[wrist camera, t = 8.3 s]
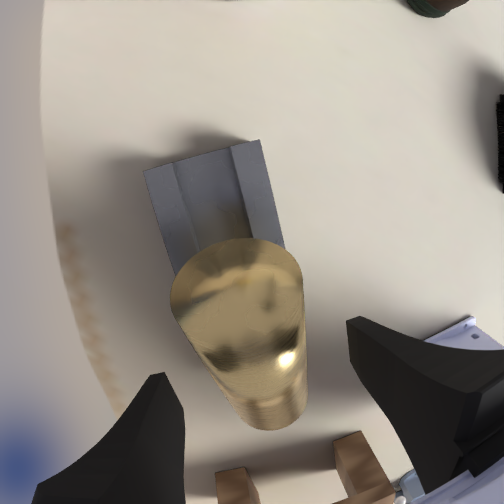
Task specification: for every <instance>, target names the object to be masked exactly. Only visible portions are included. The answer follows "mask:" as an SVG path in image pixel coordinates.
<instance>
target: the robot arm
mask: <svg viewBox="0 0 504 504" xmlns="http://www.w3.org/2000/svg"><path fill="white" fill-rule="evenodd" d="M475 322H476V318H475V317H473V316H471V317H469V318H467V319H465V320H464V321H462V322H460V323H458V324H456V325H454V326H452V327H450V328H448V329H446V330H444V331H442V332H440V333H438V334H436V335H434V336H432V337H430V338H428V339H426V340H424V341H422V340H419V339H416V338H413V337H410V336H407V335H404V334H401V333H399V332H396V331H394V330H392V329H389V328H387V327H384V326H382V325H380V324H378V323H375V322H373V321H371V320H369V319H366V318H364V317H361V316H358V317H356V318H353V319H350V320H347V321H346V326H347V335H348V344H349V354H350V362H351V364H352V366H353V368H354V369H355V371H356V373H357V375H358V377H359V379H360V381H361V382H362V383H363V385H364V386H365V388H366V389H367V390H368V392H369V393H370V394H371V396H372V397H373V399H374V400H375V401H376V403H377V404H378V405H379V407H380V408H381V409H382V411H383V412H384V414H385V415H386V416H387V418H388V419H389V421H390V422H391V424H392V426H393V427H394V429H395V431H396V433H397V435H398V437H399V438H400V440H401V442H402V444H403V446H404V448H405V450H406V452H407V454H408V456H409V458H410V460H411V462H412V465H413V467H414V469H415V471H416V473H417V476H418V478H419V480H420V483H421V485H422V488H423V490H424V493H425V496H423V497H421V498H419V499H417V500H415V501H413V502H411V503H409V504H504V346H502V345H501V344H500V343H498V342H497V341H496V340H494V339H493V338H492V337H490V336H489V335H487V334H486V333H485V332H483V331H482V330H481V329H479V328H478V327H477V326H475ZM184 449H185V421H184V411H183V407H182V405H181V403H180V401H179V399H178V398H177V396H176V394H175V392H174V390H173V388H172V386H171V384H170V382H169V380H168V378H167V376H166V374H165V372H162V373H158V374H153V375H150V376H149V377H148V379H147V380H146V382H145V383H144V384H143V386H142V387H141V389H140V390H139V392H138V393H137V395H136V396H135V398H134V399H133V400H132V402H131V403H130V405H129V406H128V408H127V409H126V410H125V412H124V413H123V414H122V415H121V417H120V418H119V419H118V421H117V422H116V423H115V424H114V426H113V427H112V428H111V429H110V430H109V432H108V433H107V434H106V435H105V436H104V437H103V438H102V439H101V440H100V441H99V442H98V443H97V444H96V445H95V446H94V447H93V448H91V449H90V450H89V451H88V452H87V453H86V454H84V455H83V456H82V457H81V458H80V459H78V460H77V461H76V462H74V463H73V464H72V465H70V466H69V467H67V468H66V469H64V470H63V471H61V472H59V473H58V474H56V475H54V476H52V477H51V478H49V479H47V480H45V481H43V482H41V483H39V484H38V485H37V488H36V491H35V494H34V497H33V500H32V503H31V504H186V502H185V493H184V478H183V473H184Z"/></svg>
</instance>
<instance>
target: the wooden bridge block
mask: <svg viewBox="0 0 504 504" xmlns="http://www.w3.org/2000/svg"><path fill="white" fill-rule="evenodd" d="M333 446H334V454H335V462H336V470H337V472H338V474H339V476H340V479H341V481H342V483H343V486H344V488H345V490H346V492H347V495H348V497H349V498H346V499H344V500H341V501H338V502H335V503H332V504H393V502H394V498H395V494H396V492H395V490H394V488H393V487H392V485H391V483H390V481H389V479H388V478H387V476H386V474H385V472H384V471H383V469H382V467H381V465H380V463H379V462H378V460H377V458H376V456H375V455H374V453H373V451H372V449H371V447H370V446H369V444H368V442H367V440H366V439H365V437H364V435H363V433H362V432H361V431H359V432H356V433H354V434H351V435H349V436H346V437H343V438H341V439H338V440H335V441H333ZM215 478H216V488H217V498H218V504H260V499H259V494H258V491H257V489H256V488H255V486H254V484H253V482H252V480H251V479H250V477H249V475H248V473H247V471H246V469H245V467H242V468H238V469H233V470H228V471H223V472H217V473H215Z"/></svg>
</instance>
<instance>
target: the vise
mask: <svg viewBox="0 0 504 504" xmlns="http://www.w3.org/2000/svg"><path fill="white" fill-rule="evenodd" d="M399 485H400V487H401V489H402V491H399V492H397V493H396V494H395V498H394V503H395V504H409V503H411V502H413V501H415V500H417V499H419V498H421V497H423V496H425V493H424V490H423V488H422V485H421V483H420V480H419V478H418V476H417V473H416V471H415V469H413V470H411V471H410V472H408V473H407V474H406V475H404V476H403V477H402V479H401V480H400V483H399Z"/></svg>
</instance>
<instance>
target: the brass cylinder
mask: <svg viewBox="0 0 504 504" xmlns="http://www.w3.org/2000/svg"><path fill="white" fill-rule="evenodd" d="M170 305H171V309H172V312H173V315H174V317H175V319H176V320H177V322H178V324H179V325H180V327H181V329H182V330H183V332H184V334H185V335H186V337H187V338H188V340H189V342H190V343H191V345H192V346H193V348H194V350H195V351H196V353H197V354H198V356H199V357H200V359H201V361H202V362H203V364H204V365H205V367H206V368H207V370H208V371H209V373H210V374H211V376H212V377H213V379H214V380H215V382H216V383H217V385H218V386H219V388H220V389H221V391H222V392H223V394H224V395H225V396H226V398H227V399H228V401H229V402H230V404H231V405H232V407H233V408H234V409H235V411H236V412H237V414H238V415H239V416H240V418H241V419H242V420H243V421H244V422H245V423H247V424H248V425H250V426H252V427H254V428H256V429H260V430H278V429H282V428H284V427H287V426H288V425H290V424H292V423H293V422H294V421H296V420H297V419H298V418H299V417H300V415H301V414H302V412H303V411H304V409H305V407H306V403H307V398H308V391H307V358H306V333H305V312H304V294H303V278H302V273H301V269H300V267H299V265H298V263H297V261H296V260H295V258H294V257H293V256H292V255H291V254H290V253H289V252H288V251H286V250H285V249H284V248H282V247H281V246H279V245H277V244H274V243H272V242H269V241H266V240H261V239H254V238H239V239H231V240H227V241H223V242H219V243H217V244H214V245H212V246H209V247H207V248H205V249H204V250H202V251H200V252H199V253H197V254H196V255H194V256H193V257H192V258H191V259H190V260H188V261H187V263H186V264H185V265H184V266H183V267H182V268H181V270H180V271H179V272H178V274H177V276H176V277H175V280H174V282H173V284H172V288H171V293H170Z"/></svg>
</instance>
